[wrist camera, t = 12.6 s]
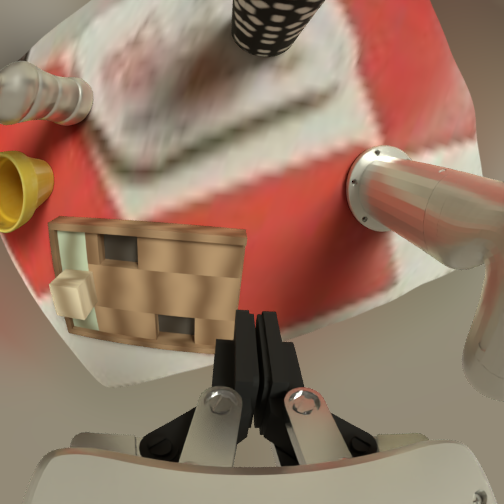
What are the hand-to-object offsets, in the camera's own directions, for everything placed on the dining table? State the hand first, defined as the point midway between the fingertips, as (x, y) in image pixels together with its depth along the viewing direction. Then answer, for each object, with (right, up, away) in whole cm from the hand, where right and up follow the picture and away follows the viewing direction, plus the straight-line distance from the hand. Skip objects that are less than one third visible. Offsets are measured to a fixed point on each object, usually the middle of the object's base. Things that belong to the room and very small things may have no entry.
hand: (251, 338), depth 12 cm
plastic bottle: (-24, +24, +17) cm, 38 cm away
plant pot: (-32, +14, +20) cm, 40 cm away
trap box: (-16, -1, +27) cm, 32 cm away
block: (-25, -1, +24) cm, 35 cm away
